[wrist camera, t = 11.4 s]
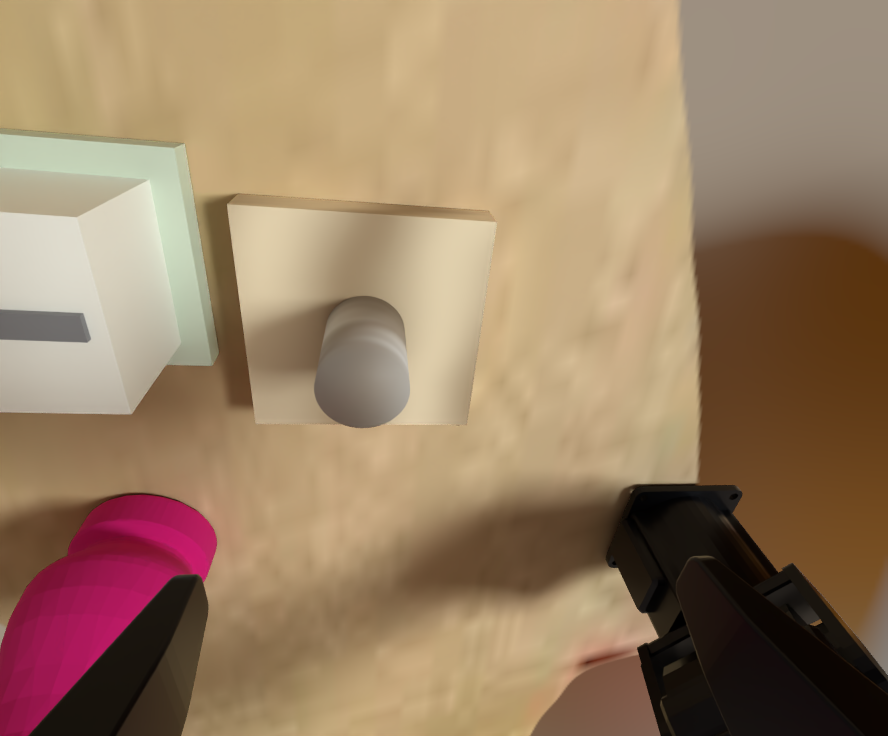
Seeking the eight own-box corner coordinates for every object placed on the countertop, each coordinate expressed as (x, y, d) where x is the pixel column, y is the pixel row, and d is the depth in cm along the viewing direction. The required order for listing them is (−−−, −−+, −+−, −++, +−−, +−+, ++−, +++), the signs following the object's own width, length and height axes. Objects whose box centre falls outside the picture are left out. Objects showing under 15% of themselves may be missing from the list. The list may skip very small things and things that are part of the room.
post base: (488, 211, 19) (525, 261, 14) (462, 404, 23) (482, 491, 19) (237, 193, 17) (186, 242, 13) (262, 402, 22) (231, 494, 17)
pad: (184, 143, 16) (173, 147, 15) (219, 353, 20) (212, 365, 20) (-94, 120, 15) (-121, 124, 14) (3, 347, 19) (-15, 361, 18)
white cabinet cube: (149, 179, 16) (71, 219, 12) (181, 343, 19) (128, 418, 15) (-65, 162, 15) (-225, 198, 11) (5, 336, 18) (-100, 415, 14)
